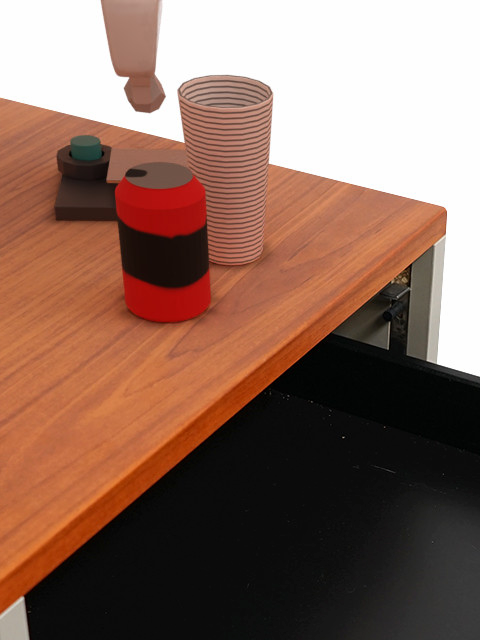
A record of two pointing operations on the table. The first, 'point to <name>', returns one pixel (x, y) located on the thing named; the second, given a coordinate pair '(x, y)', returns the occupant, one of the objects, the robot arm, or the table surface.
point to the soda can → (163, 242)
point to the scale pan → (140, 160)
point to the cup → (229, 159)
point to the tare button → (85, 147)
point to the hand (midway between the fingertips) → (143, 92)
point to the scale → (85, 188)
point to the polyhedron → (157, 96)
